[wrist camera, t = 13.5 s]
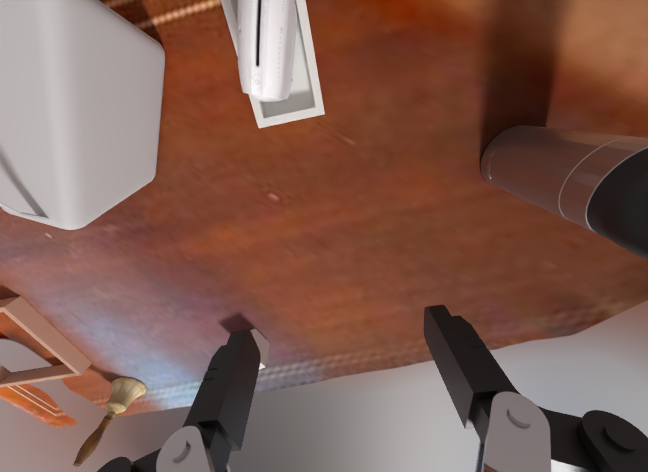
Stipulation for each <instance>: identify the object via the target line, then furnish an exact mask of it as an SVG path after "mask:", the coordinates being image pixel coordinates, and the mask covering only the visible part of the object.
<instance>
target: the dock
mask: <svg viewBox="0 0 648 472" xmlns="http://www.w3.org/2000/svg"><path fill="white" fill-rule="evenodd" d="M221 2H222V6H223V9H224V13H225V16H226V19H227V23H228V26H229V29H230V33H231V36H232V40H233V43H234V46H235V50H236V53H237V56H238V47H237V17H238V0H221ZM295 4H296V11H297V28H296V43H295V56H294V66H293V75H292V83H291V90H290V94H289V97H288V99H284V100H281V101H273V102H262V101H259V100H256V99H254V98H253V97H252V96H250V95H249V97H250V100H251V104H252V107H253V111H254V114H255V117H256V121H257V124H258V127H259V128H263V127H267V126H272V125H277V124H281V123H286V122H290V121H295V120H300V119H304V118H309V117H314V116H318V115H323V114H325V113H324V107H323V102H322V96H321V90H320V84H319V78H318V72H317V66H316V60H315V54H314V48H313V42H312V36H311V31H310V25H309V19H308V13H307V7H306V1H305V0H295Z"/></svg>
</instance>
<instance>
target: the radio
mask: <svg viewBox="0 0 648 472" xmlns="http://www.w3.org/2000/svg"><path fill="white" fill-rule="evenodd" d="M164 69H165V52H164V49H163V47H162V46H161V44H160V43H159V42H158V41H156V40H155V39H153V38H152V37H150V36H149V35H147V34H146V33H145V32H143V31H142V30H140V29H139V28H137V27H136V26H135V25H133V24H132V23H130V22H129V21H127V20H126V19H124V18H123V17H122V16H120V15H119V14H117V13H116V12H115V11H113V10H112V9H110V8H109V7H107V6H106V5H105V4H103V3H102V2H100V1H99V0H0V206H1V207H2V209H3V210H5V211H6V212H8V213H10V214H13V215H16V216H20V217H23V218H27V219H30V220H34V221H37V222H41V223H44V224H48V225H51V226H55V227H58V228H62V229H67V230H74V229H79V228H82V227H84V226H86V225H87V224H89V223H90V222H92V221H93V220H95V219H96V218H97V217H99V216H100V215H102V214H103V213H105V212H106V211H108V210H109V209H111V208H112V207H114V206H115V205H117V204H118V203H120V202H121V201H123V200H124V199H126V198H127V197H128V196H130V195H131V194H133V193H134V192H136V191H137V190H139V189H140V188H142V187H143V186H145V185H146V184H148V183H149V182H151V181H152V180H153V179H154V177H155V174H156V164H157V152H158V140H159V128H160V116H161V105H162V93H163V81H164Z"/></svg>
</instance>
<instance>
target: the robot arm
mask: <svg viewBox="0 0 648 472" xmlns="http://www.w3.org/2000/svg"><path fill="white" fill-rule="evenodd" d="M481 173H482V176H483V178H484V179H485V180H486V181H487V182H488V183H490V184H492V185H494V186H496V187H498V188H500V189H502V190H504V191H506V192H509V193H511V194H513V195H515V196H517V197H519V198H521V199H524V200H526V201H528V202H530V203H532V204H534V205H537V206H539V207H541V208H543V209H545V210H547V211H550V212H552V213H554V214H556V215H558V216H560V217H563V218H565V219H567V220H569V221H572V222H574V223H576V224H578V225H580V226H582V227H585V228H587V229H589V230H591V231H593V232H595V233H598V234H600V235H602V236H604V237H606V238H608V239H610V240H612V241H613V242H615V243H616V244H618V245H619V246H621V247H623V248H625V249H627V250H629V251H631V252H633V253H635V254H637V255H639V256H641V257H643V258H645V259H647V260H648V138H642V137H631V136H621V135H612V134H602V133H593V132H584V131H574V130H565V129H555V128H547V127H538V126H528V125H518V126H513V127H511V128H508V129H506V130H505V131H503V132H501V133H500V134H499V135H497V136H496V137H495V138H494V139H493V140H492V141H491V142H490V143H489V145H488V146H487V148H486V150H485V151H484V154H483V156H482V160H481ZM424 336H425V340H426V343H427V345H428V347H429V350H430V352H431V354H432V356H433V359H434V361H435V363H436V365H437V368H438V370H439V372H440V374H441V376H442V378H443V381H444V383H445V385H446V387H447V390H448V392H449V394H450V396H451V399H452V401H453V403H454V405H455V408H456V410H457V412H458V414H459V417H460V418H461V421H462V423H463V425H464V428H465V429H469V428H475V430H476V432H477V434H478V435H479V437H480V444H479V450H478V457H477V463H476V470H475V472H648V438H647V437H646V436H645V435H644V434H643V433H642V432H641V431H640V430H639V429H638V428H636V427H635V426H633V425H632V424H631V423H629V422H628V421H626V420H624V419H622V418H620V417H619V416H616V415H614V414H611V413H608V412H604V411H598V410H593V411H589V412H587V413H586V414H585V415H584V416H583V417H582V418H580V417H576V416H572V415H567V414H563V413H558V412H554V411H550V410H546V409H543V408H541V407H539V406H537V405H535V404H534V403H533V402H532V401H530V400H529V399H527V398H526V397H524V396H522V395H521V394H520V393H519V392H518V391H517V390H516V389H515V388H514V386H513V385H512V383H511V382H510V381H509V379H508V378H507V376H506V375H505V373H504V372H503V370H502V369H501V368H500V366H499V365H498V363H497V362H496V360H495V359H494V357H493V356H492V354H491V353H490V351H489V350H488V349H487V348H486V346H485V344H484V343H483V341H482V340H481V339H480V338H479V335H478V334H477V333H476V331H475V330H474V328H473V327H472V325H471V324H470V323H468V322H467V321H466V320H464V319H463V318H462V317H461V316H451V315H450V313H449V311H448V310H447V308H446V307H445V306H444V305H436V306H429V307H425V311H424ZM260 361H261V355H260V350H259V348H258V346H257V344H256V341H255V339H254V337H253V335H252V333H251V331H250V330H244V331H237V332H232V333H231V335H230V337H229V340H228V342H227V345H224V346H221V347H220V348H219V349H218V351H217V352H216V353H215V354H214V356H213V357H212V359H211V362H210V364H209V367H208V371H206V374H205V376H204V378H203V382H202V383H201V386H200V388H199V390H198V393H197V395H196V397H195V400H194V402H193V405H192V407H191V410H190V412H189V414H188V417H187V419H186V421H185V423H184V425H183V427H182V428H181V429H179V430H178V431H176V432H175V433H174V434H173V435H172V436H171V437H170V438H169V439H168V440H167V441H166V443H165V444H164V446H163V447H162V448H161V449H159V450H157V451H155V452H153V453H151V454H148V455H146V456H145V457H142V458H140V459H138V460H136V461H134V462H132V461H130V460H129V459H128V458H126V457H118V458H116V459H113V460H111V461H109V462H108V463H106V464H105V465H104V466H103V467H101V469H99V470H98V471H97V472H231V471H230V468H229V465H228V459H229V455H230V451H237V450H241V446H242V442H243V438H244V433H245V429H246V424H247V420H248V416H249V411H250V406H251V402H252V398H253V394H254V389H255V385H256V380H257V376H258V371H259V367H260Z"/></svg>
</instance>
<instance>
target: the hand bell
mask: <svg viewBox="0 0 648 472" xmlns="http://www.w3.org/2000/svg"><path fill="white" fill-rule="evenodd" d="M112 388H113V389H112V394H111V397H110V399H109V401H108V402H107V404H106V409H107V410H108V414H107V415H106V416H105V418H104V419H103V421H102V422H101V424H100V425H99V427H98V428H97V429H96V430H95V431H94V433H92V434H91V435H90V437H89V438H88V439H87V440H86V441H85V443H84V444H83V445H82V447H81V448H80V450H79V452H78V455H77V457H76V460H75V462H74V464H73V465H74V466H80V465H81V464H82V463H83V462H84V461H85V460H86V459H87V458H88V457H89V456H90V455H91V454H92V452H93V451H94V450H95V448H96V447H97V445H98V443H99V441H100V439H101V437H102V434H103V432H104V430H105V429H106V427H107V426H108V424H109V423H110V421H111V420H112V419H113V417H114V416H115V415H116V414H117V413H122V412H124V411H125V410H126V408H127V407H128V406H129V405H130V403H131V402H132V401H133V400H134V399H135V398H137V397H138V396H141V395H143V394H144V393H145V392H146V390H147V389H146V386H145V385H144V384H143V383H142V382H140V381H138V380H136V379H133V378H128V377H120V378H117V379H115V380H113V382H112Z"/></svg>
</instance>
